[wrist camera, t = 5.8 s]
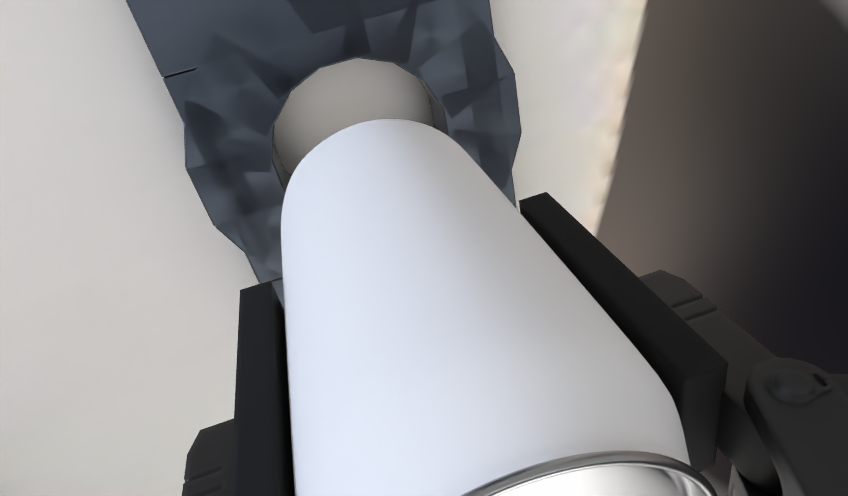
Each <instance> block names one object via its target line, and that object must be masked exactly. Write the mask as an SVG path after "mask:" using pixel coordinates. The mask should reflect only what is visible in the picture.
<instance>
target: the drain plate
mask: <svg viewBox="0 0 848 496" xmlns="http://www.w3.org/2000/svg"><path fill="white" fill-rule="evenodd" d="M126 2H127V4H128V6H129V8H130V11H131V13H132V15H133V17H134V19H135V21H136V23H137V25H138V27H139V30H140V32H141V34H142V36H143V38H144V40H145V42H146V44H147V47H148V49H149V51H150V53H151V55H152V57H153V59H154V61H155V63H156V66H157V68H158V70H159V72H160V74H161V76H162V77H164V78H163V80H164V82H165V84H166V87H167V89H168V91H169V93H170V95H171V97H172V99H173V101H174V104H175V106H176V108H177V110H178V112H179V114H180V116H181V118H182V121H183V123H184V142H185V167H186V170H187V172H188V174H189V176H190V178H191V180H192V182H193V184H194V187H195V189H196V191H197V193H198V195H199V197H200V199H201V201H202V203H203V205H204V207H205V209H206V211H207V213H208V215H209V217H210V219H211V221H212V223H213V225H214V226H215V227H216V228H217V229H218V230H219V231H220V232H222V233H223V234H224V235H225V236H226V237H227V238H229V239H230V240H231V241H232V242H233V243H234V244H235V245H237V246H238V247H239V248H240V249H241V250H242V251H244V252H245V254H246V256H247V258H248V260H249V263H250V265H251V267H252V269H253V271H254V273H255V275H256V277H257V279H258V282H259V283H260V284H261V283H264V282H267V281H270V280H271V282H272V284H273V286H274V289H275V291H276V293H277V295H278V297H279V300H280V302H281V304H282V306H283V308H284V293H283V272H282V250H281V214H282V207H283V201H284V196H285V192H286V189H287V186H288V183H289V181H290V179H291V176H290V175H289V174H288V173H287V172H286V171H285V169H284V168H283V166H282V164H281V161H280V158H279V156H278V153H277V151H276V148H275V145H274V143H273V140H274V124H275V122H276V120H277V118H278V116H279V114H280V112H281V110H282V108H283V106H284V104H285V102H286V100H287V98H288V96H289V94H290V92H291V91H292V90H293V89H295V88H296V87H297V86H298V85H299V84H301V83H302V82H303V81H304V80H306V79H307V78H308V77H309V76H311V75H312V74H313V73H314V72H316V71H317V70H318V69H319V68H322V67H325V66H329V65H333V64H336V63H340V62H343V61H347V60H350V59H354V58H363V59H370V60H377V61H385V62H392V63H395V64H396V65H398V66H400V67H401V68H403V69H405V70H406V71H408V72H410V73H411V74H413V75H414V76H416V77H417V78H418V79H419V81H420V82H421V84H422V85H423V87H424V88H425V89H426V91H427V92H428V95H429V100H430V105H431V110H432V114H433V119H434V128H435V129H437V130H439V131H441V132H443V133H444V134H446V135H447V136H449V137H450V138H451V139H453V140H454V141H455V142H456V143H457V144H459V145H460V146H461V147H462V148H463V149H464V150H465V151H466V152H467V154H468V155H469V156H470V157H471V158H472V159H473V160H474V161H475V162H476V163H477V164H478V166H479V167H480V168H481V169H482V170H483V171H484V172H485V173H486V175H487V176H488V177H489V178H490V179H491V180H492V181H493V183H494V184H495V185H496V186H497V187H498V188H499V189H500V191H501V192H502V193H503V194H504V195H505V196H506V197H507V199H508V200H509V201H510V202H511V203H512V204H513V205H514V207H515V208H516V201H515V193H514V185H513V178H512V167H513V163H514V159H515V155H516V152H517V148H518V144H519V140H520V137H521V125H520V116H519V107H518V99H517V90H516V81H515V73H514V71H513V69H512V67H511V65H510V64H509V62H508V60H507V58H506V57H505V55H504V53H503V51H502V50H501V48H500V46H499V45H498V43H497V41H496V39H495V38H494V33H493V25H492V18H491V10H490V2H489V0H126Z"/></svg>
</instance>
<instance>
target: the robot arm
mask: <svg viewBox="0 0 848 496" xmlns="http://www.w3.org/2000/svg"><path fill="white" fill-rule="evenodd" d="M519 204H520V212H521V215H522V216H523V217H524V218H525V219H526V220H527V222H528V223H529V224H530V225H531V226H532V227H533V228H534V230H535V231H536V232H537V233H538V234H539V235H540V237H541V238H542V239H543V240H544V241H545V242H546V243H547V245H548V246H549V247H550V248H551V249H552V250H553V252H554V253H555V254H556V255H557V256H558V257H559V258H560V260H561V261H562V262H563V263H564V264H565V265H566V267H567V268H568V269H569V270H570V271H571V272H572V274H573V275H574V276H575V277H576V278H577V279H578V281H579V282H580V283H581V284H582V285H583V286H584V288H585V289H586V290H587V291H588V292H589V293H590V294H591V296H592V297H593V298H594V299H595V300H596V301H597V303H598V304H599V305H600V306H601V307H602V308H603V310H604V311H605V312H606V313H607V314H608V316H609V317H610V318H611V319H612V320H613V321H614V323H615V324H616V325H617V326H618V327H619V328H620V330H621V331H622V332H623V333H624V334H625V336H626V337H627V338H628V339H629V340H630V341H631V343H632V344H633V345H634V346H635V347H636V349H637V350H638V351H639V352H640V354H641V355H642V356H643V357H644V359H645V360H646V361H647V362H648V363H649V365H650V366H651V367H652V368H653V370H654V371H655V372H656V373H657V375H658V376H659V378H660V379H661V381H662V382H663V384H664V385H665V387H666V388H667V390H668V391H669V393H670V395H671V396H672V398H673V401H674V403H675V406H676V408H677V411H678V414H679V417H680V421H681V425H682V428H683V433H684V437H685V442H686V447H687V452H688V457H689V461H690V465H691V467H693V468H694V469H696V470H697V471H698V472H701V471H704V470H706V469H709V468H711V467H714V465H715V458H716V450H717V447H718V448H719V449H720V450H721V451H722V453H723V454H724V455H725V456H726V457H727V458H728V459H729V461H730V462H731V463H732V464H733V465H732V471H731V477H730V483H729V489H728V495H727V496H738V495H739V496H848V374H828V373H827V372H825V371H823V370H821V369H819V368H818V367H816V366H814V365H812V364H810V363H807V362H803V361H799V360H796V359H793V358H792V359H791V358H778V357H777V356H775V355H774V354H772V353H771V352H770V351H769V350H768V349H766V348H765V347H764V346H763V345H762V344H760V343H759V342H758V341H757V340H756V339H754V338H753V337H752V336H751V335H750V334H749V333H747V332H746V331H745V330H744V329H743V328H741V327H740V326H739V325H738V324H737V323H735V322H734V321H733V320H732V319H731V318H730V317H728V316H727V315H726V314H725V313H724V312H722V311H721V310H717V308H716V306H715V305H714V304H713V303H712V302H710V301H709V300H708V299H707V298H706V297H705V298H703V296H702V294H701V293H700V292H699V291H697V290H696V289H695V288H693V287H692V286H691V285H690V284H689V283H688V282H687V281H685V280H684V279H682V278H679V277H677V276H674V275H672V274H670V273H667V272H665V271H662V270H658V271H656V272H653V273H650V274H647V275H644V276H641V277H637V276H635V274H634V273H632V272H631V271H630V270H629V269H628V268H627V267H626V266H625V265H624V264H623V263H622V262H621V261H620V260H619V259H618V258H616V257H615V256H614V255H613V254H612V253H611V252H610V251H609V250H608V249H607V248H606V247H605V246H604V245H602V243H600V242H599V241H598V240H597V239H596V238H595V237H594V236H593V235H592V234H591V233H590V232H589V231H588V230H587V229H586V228H584V227H583V226H582V225H581V224H580V223H579V222H578V221H577V220H576V219H575V218H574V217H573V216H572V215H571V214H570V213H568V212H567V211H566V210H565V209H564V208H563V207H562V206H561V205H560V204H559V203H558V202H557V201H556V200H555V199H554V198H552V197H551V196H550V195H549V194H548V193H547V192H545V193H541V194H538V195H535V196H532V197H529V198H526V199H523V200H520V201H519ZM184 480H185V483H184V484H183V491H182V496H295V489H294V473H293V458H292V442H291V424H290V406H289V389H288V370H287V351H286V333H285V313H284V308H283V306H282V304H281V302H280V300H279V297H278V295H277V293H276V291H275V289H274V286H273V284H272V282H271V280H270V281H267V282H264V283H261V284H258V285H255V286H252V287H249V288H245V289H242V290H240V305H239V326H238V348H237V369H236V391H235V412H234V419H231V420H228V421H225V422H222V423H220V424H217V425H214V426H211V427H208V428H205V429H202V430H200V432H199V434H198V435H197V437H196V439H195V441H194V443H193V445H192V447H191V449H190V451H189V452H188V454H187V461H186V469H185V476H184Z"/></svg>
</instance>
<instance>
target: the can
mask: <svg viewBox="0 0 848 496" xmlns="http://www.w3.org/2000/svg"><path fill="white" fill-rule="evenodd" d="M281 250H282V272H283V293H284V313H285V333H286V351H287V370H288V389H289V406H290V424H291V442H292V458H293V473H294V489H295V496H717V494H716V492H715V490H714V488H713V487H712V485H711V484H710V483H709V481H708V480H707V479H706V478H705V477H704V476H703V475H702V474H701V473H700V472H698V471H697V470H696V469H694V468H693V467H691V465H690V461H689V457H688V452H687V447H686V442H685V437H684V433H683V428H682V425H681V421H680V417H679V414H678V411H677V408H676V406H675V403H674V401H673V398H672V396H671V395H670V393H669V391H668V390H667V388H666V387H665V385H664V384H663V382H662V381H661V379H660V378H659V376H658V375H657V373H656V372H655V371H654V370H653V368H652V367H651V366H650V365H649V363H648V362H647V361H646V360H645V359H644V357H643V356H642V355H641V354H640V352H639V351H638V350H637V349H636V347H635V346H634V345H633V344H632V343H631V341H630V340H629V339H628V338H627V337H626V336H625V334H624V333H623V332H622V331H621V330H620V328H619V327H618V326H617V325H616V324H615V323H614V321H613V320H612V319H611V318H610V317H609V316H608V314H607V313H606V312H605V311H604V310H603V308H602V307H601V306H600V305H599V304H598V303H597V301H596V300H595V299H594V298H593V297H592V296H591V294H590V293H589V292H588V291H587V290H586V289H585V288H584V286H583V285H582V284H581V283H580V282H579V281H578V279H577V278H576V277H575V276H574V275H573V274H572V272H571V271H570V270H569V269H568V268H567V267H566V265H565V264H564V263H563V262H562V261H561V260H560V258H559V257H558V256H557V255H556V254H555V253H554V252H553V250H552V249H551V248H550V247H549V246H548V245H547V243H546V242H545V241H544V240H543V239H542V238H541V237H540V235H539V234H538V233H537V232H536V231H535V230H534V228H533V227H532V226H531V225H530V224H529V223H528V222H527V220H526V219H525V218H524V217H523V216H522V215H521V214H520V212H519V211H518V210H517V209H516V208H515V207H514V205H513V204H512V203H511V202H510V201H509V200H508V199H507V197H506V196H505V195H504V194H503V193H502V192H501V191H500V189H499V188H498V187H497V186H496V185H495V184H494V183H493V181H492V180H491V179H490V178H489V177H488V176H487V175H486V173H485V172H484V171H483V170H482V169H481V168H480V167H479V166H478V164H477V163H476V162H475V161H474V160H473V159H472V158H471V157H470V156H469V155H468V154H467V152H466V151H465V150H464V149H463V148H462V147H461V146H460V145H459V144H457V143H456V142H455V141H454V140H453V139H451V138H450V137H449V136H447V135H446V134H444V133H443V132H441V131H439V130H437V129H435V128H433V127H431V126H428V125H425V124H422V123H419V122H415V121H410V120H404V119H378V120H371V121H366V122H362V123H358V124H355V125H352V126H350V127H347V128H345V129H343V130H340V131H338V132H337V133H335V134H333V135H331V136H330V137H328V138H327V139H325V140H324V141H322V142H321V143H320V144H318V145H317V146H316V147H315V148H314V149H312V150H311V151H310V152H309V153H308V154H307V155H306V156H305V157H304V158H303V159H302V160H301V162H300V163H299V164H298V166H297V167H296V169H295V171H294V172H293V174H292V176H291V179H290V181H289V183H288V186H287V189H286V192H285V196H284V201H283V207H282V214H281Z"/></svg>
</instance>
